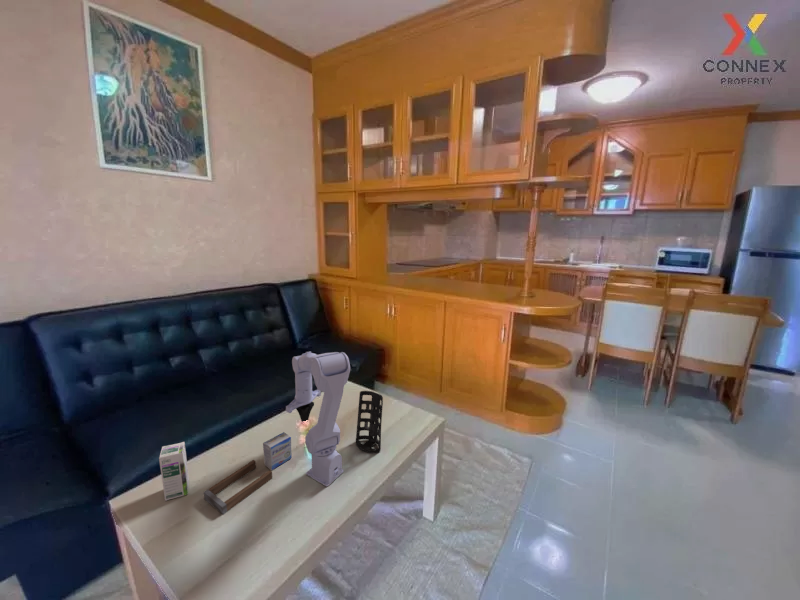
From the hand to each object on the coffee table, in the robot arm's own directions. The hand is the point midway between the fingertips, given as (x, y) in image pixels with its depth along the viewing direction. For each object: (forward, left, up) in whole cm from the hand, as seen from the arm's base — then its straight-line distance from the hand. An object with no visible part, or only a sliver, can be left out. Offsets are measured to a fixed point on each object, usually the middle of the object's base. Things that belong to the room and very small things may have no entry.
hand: (304, 421), depth 120 cm
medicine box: (0, +12, -9) cm, 15 cm away
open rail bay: (0, +26, -9) cm, 27 cm away
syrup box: (+14, +37, -9) cm, 41 cm away
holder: (-20, -13, -9) cm, 26 cm away
